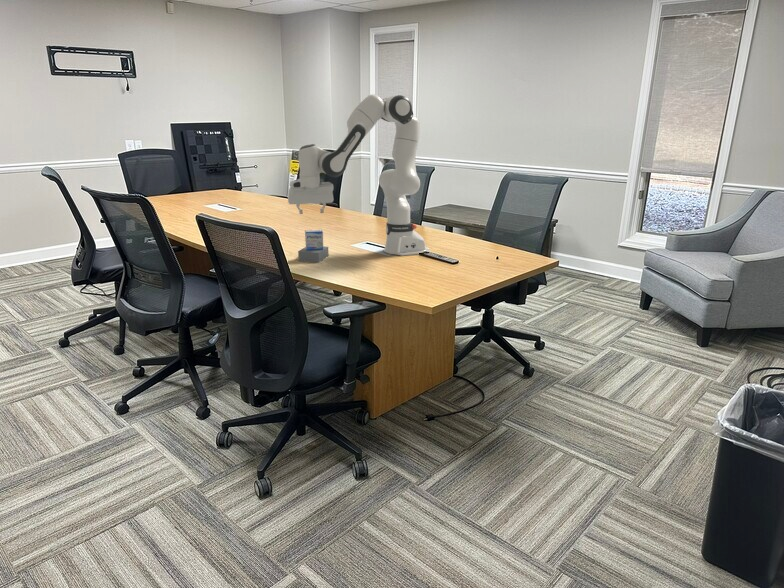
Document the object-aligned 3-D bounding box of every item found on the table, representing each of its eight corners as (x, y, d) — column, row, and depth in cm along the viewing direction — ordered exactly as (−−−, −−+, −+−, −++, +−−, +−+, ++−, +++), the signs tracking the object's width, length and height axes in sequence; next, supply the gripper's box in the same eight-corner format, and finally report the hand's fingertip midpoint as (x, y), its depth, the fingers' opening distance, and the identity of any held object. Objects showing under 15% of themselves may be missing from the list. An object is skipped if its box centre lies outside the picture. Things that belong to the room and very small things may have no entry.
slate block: (328, 257, 258) (328, 246, 257) (319, 263, 247) (318, 252, 246) (308, 255, 261) (308, 245, 259) (298, 261, 249) (298, 251, 248)
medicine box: (306, 250, 249) (305, 231, 246) (305, 248, 253) (304, 229, 251) (323, 249, 251) (322, 231, 248) (322, 247, 255) (322, 229, 252)
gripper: (332, 180, 247) (333, 211, 252) (286, 182, 243) (288, 213, 248) (334, 182, 242) (335, 213, 246) (287, 184, 238) (289, 215, 242)
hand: (311, 213), depth 247 cm, fingers open, 8 cm apart
